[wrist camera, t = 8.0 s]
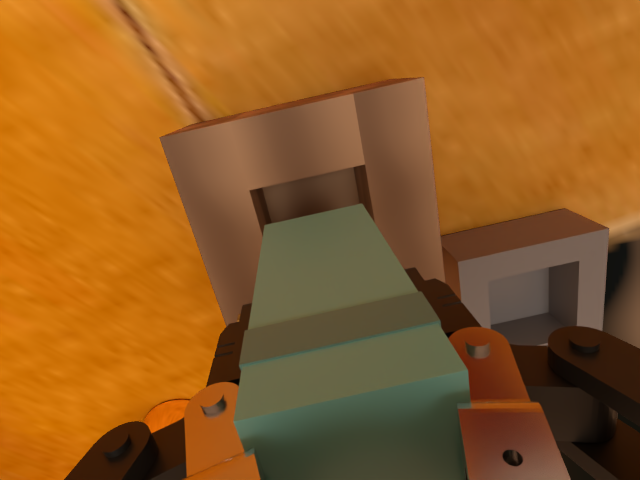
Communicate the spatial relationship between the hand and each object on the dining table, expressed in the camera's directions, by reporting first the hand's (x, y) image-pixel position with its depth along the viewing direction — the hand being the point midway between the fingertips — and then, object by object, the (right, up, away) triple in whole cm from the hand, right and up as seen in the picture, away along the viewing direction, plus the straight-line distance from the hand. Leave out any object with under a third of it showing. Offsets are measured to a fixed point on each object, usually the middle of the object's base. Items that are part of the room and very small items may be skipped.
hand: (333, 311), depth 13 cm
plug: (0, +2, +4) cm, 4 cm away
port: (-1, +5, +13) cm, 14 cm away
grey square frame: (+13, -1, +16) cm, 20 cm away
